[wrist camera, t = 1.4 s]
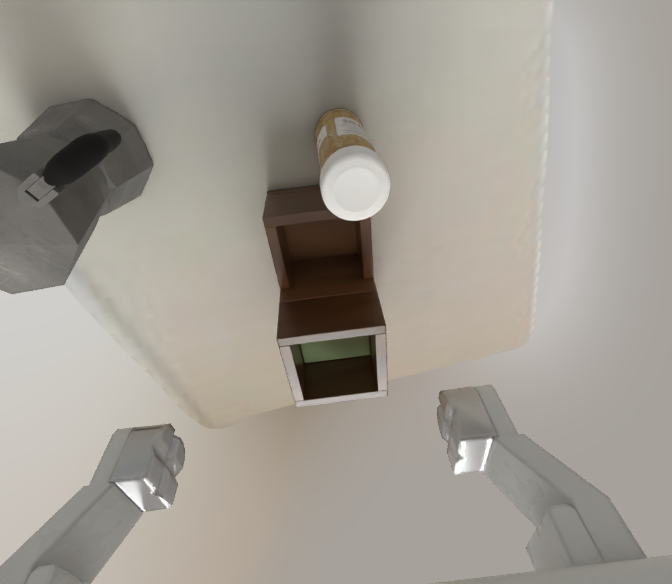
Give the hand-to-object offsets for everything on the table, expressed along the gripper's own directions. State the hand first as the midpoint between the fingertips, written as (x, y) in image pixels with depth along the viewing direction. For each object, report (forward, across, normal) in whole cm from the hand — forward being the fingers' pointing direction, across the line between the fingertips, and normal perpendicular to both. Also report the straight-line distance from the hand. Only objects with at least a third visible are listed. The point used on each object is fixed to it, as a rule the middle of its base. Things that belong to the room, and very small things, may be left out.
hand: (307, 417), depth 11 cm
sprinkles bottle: (+29, -3, -1) cm, 29 cm away
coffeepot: (+29, +18, -2) cm, 34 cm away
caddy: (+29, 0, +13) cm, 32 cm away
